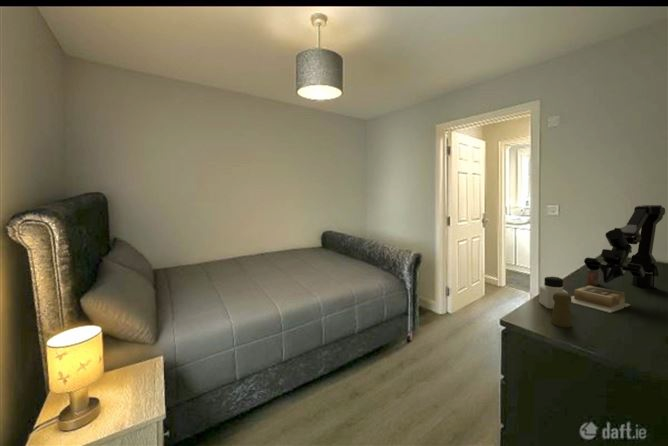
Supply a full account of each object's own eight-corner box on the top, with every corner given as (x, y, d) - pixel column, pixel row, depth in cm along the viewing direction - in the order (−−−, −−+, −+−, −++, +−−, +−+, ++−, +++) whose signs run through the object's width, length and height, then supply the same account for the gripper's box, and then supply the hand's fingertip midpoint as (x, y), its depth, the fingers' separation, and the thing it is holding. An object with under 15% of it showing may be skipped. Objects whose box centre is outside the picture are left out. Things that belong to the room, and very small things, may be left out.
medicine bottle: (567, 309, 115) (568, 280, 114) (547, 308, 116) (548, 279, 115) (557, 303, 122) (558, 275, 121) (538, 302, 123) (539, 275, 122)
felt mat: (582, 294, 131) (582, 293, 131) (629, 305, 117) (629, 304, 117) (562, 300, 125) (562, 299, 124) (609, 313, 110) (609, 311, 110)
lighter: (593, 286, 142) (593, 266, 141) (584, 284, 145) (585, 265, 144) (600, 283, 146) (601, 264, 145) (592, 282, 149) (593, 263, 148)
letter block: (589, 285, 130) (574, 289, 124) (625, 292, 119) (610, 297, 114) (589, 294, 130) (574, 298, 125) (624, 302, 119) (610, 307, 114)
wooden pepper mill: (546, 320, 105) (547, 291, 104) (561, 319, 106) (562, 290, 105) (560, 327, 99) (561, 296, 98) (576, 326, 100) (577, 295, 99)
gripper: (586, 240, 133) (572, 266, 129) (643, 245, 116) (628, 276, 112) (595, 255, 136) (581, 281, 133) (650, 262, 120) (637, 292, 116)
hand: (605, 282), depth 123 cm, fingers closed
